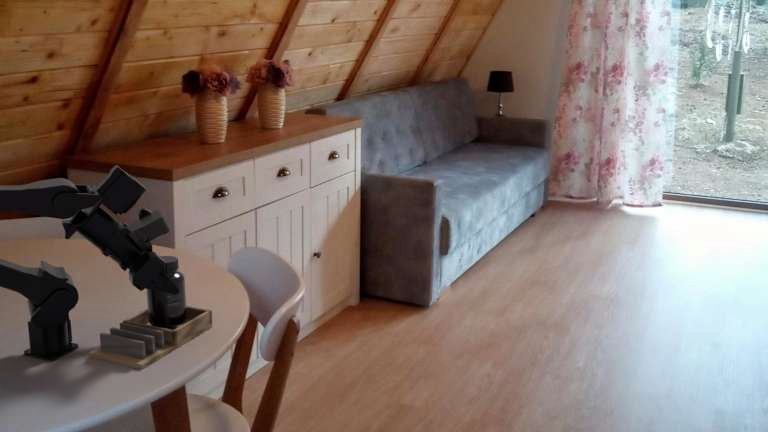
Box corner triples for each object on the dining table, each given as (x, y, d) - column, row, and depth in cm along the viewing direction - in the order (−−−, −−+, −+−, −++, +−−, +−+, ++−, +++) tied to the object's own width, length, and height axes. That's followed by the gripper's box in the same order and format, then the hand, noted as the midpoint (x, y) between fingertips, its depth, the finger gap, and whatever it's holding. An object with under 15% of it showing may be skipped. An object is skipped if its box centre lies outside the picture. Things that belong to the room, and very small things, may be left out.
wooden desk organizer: (142, 369, 138) (141, 348, 137) (89, 356, 142) (87, 336, 141) (212, 326, 155) (211, 307, 154) (163, 317, 160) (162, 298, 159)
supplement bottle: (187, 314, 156) (185, 253, 153) (186, 328, 149) (183, 264, 146) (149, 315, 154) (146, 254, 151) (146, 329, 148) (143, 265, 145)
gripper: (150, 211, 136) (218, 268, 144) (129, 187, 152) (191, 239, 160) (103, 262, 135) (173, 317, 142) (86, 233, 151) (151, 283, 158)
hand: (173, 286), depth 151 cm, fingers closed on supplement bottle, 7 cm apart
